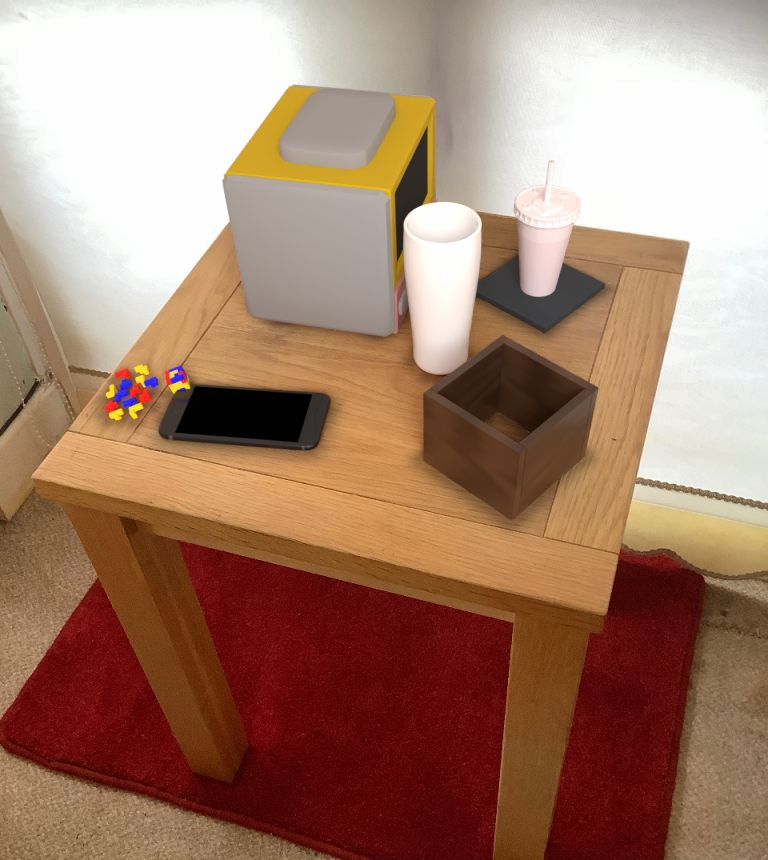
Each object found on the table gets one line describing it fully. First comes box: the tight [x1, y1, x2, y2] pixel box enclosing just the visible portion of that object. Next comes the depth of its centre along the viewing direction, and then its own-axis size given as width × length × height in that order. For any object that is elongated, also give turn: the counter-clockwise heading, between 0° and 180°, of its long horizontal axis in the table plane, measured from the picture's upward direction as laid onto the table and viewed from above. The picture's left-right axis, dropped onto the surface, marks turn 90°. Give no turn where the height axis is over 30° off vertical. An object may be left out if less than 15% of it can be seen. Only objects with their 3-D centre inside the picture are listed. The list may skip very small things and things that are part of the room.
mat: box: [476, 254, 606, 333], centre depth 91 cm, size 10×10×1 cm
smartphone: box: [157, 383, 332, 452], centre depth 80 cm, size 7×15×1 cm, turn 82°
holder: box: [422, 334, 599, 521], centre depth 73 cm, size 10×10×8 cm
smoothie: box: [512, 159, 582, 297], centre depth 85 cm, size 6×6×14 cm
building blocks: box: [103, 364, 191, 421], centre depth 83 cm, size 6×8×2 cm
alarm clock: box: [221, 84, 438, 338], centre depth 86 cm, size 20×16×18 cm
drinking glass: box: [403, 201, 483, 376], centre depth 79 cm, size 7×7×15 cm
